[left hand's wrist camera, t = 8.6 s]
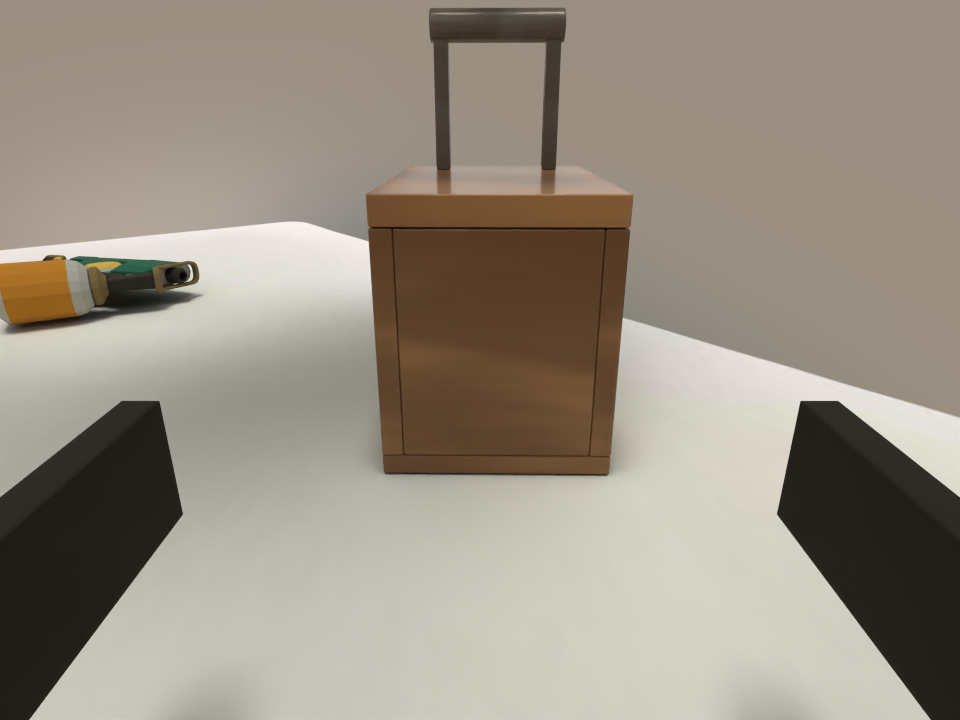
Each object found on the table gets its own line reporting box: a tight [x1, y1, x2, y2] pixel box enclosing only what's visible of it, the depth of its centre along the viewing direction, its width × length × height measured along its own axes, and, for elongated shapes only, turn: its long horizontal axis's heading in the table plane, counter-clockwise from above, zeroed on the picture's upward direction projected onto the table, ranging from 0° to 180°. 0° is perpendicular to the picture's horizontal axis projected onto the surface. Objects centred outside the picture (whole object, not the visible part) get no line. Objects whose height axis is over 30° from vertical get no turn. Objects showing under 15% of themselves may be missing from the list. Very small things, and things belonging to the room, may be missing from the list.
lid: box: [366, 8, 633, 228], centre depth 27 cm, size 14×9×8 cm, turn 179°
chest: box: [368, 227, 630, 474], centre depth 30 cm, size 13×9×10 cm
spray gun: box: [0, 255, 199, 324], centre depth 49 cm, size 4×17×15 cm
